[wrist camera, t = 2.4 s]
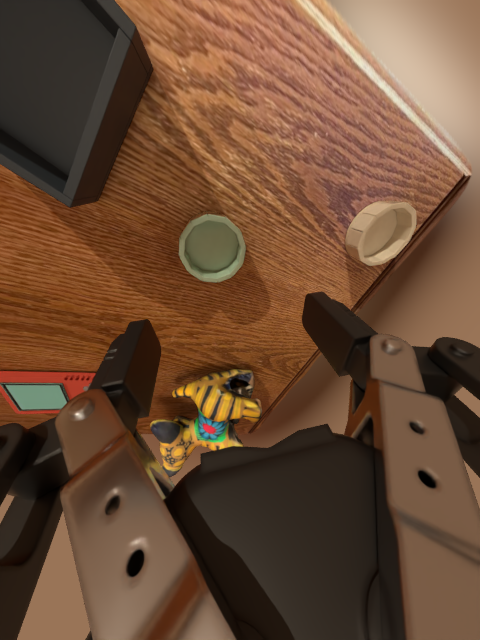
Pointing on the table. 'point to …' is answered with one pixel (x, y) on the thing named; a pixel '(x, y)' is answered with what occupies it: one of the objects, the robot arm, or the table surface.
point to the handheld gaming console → (42, 389)
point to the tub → (67, 92)
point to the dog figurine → (208, 416)
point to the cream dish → (380, 231)
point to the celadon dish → (211, 247)
